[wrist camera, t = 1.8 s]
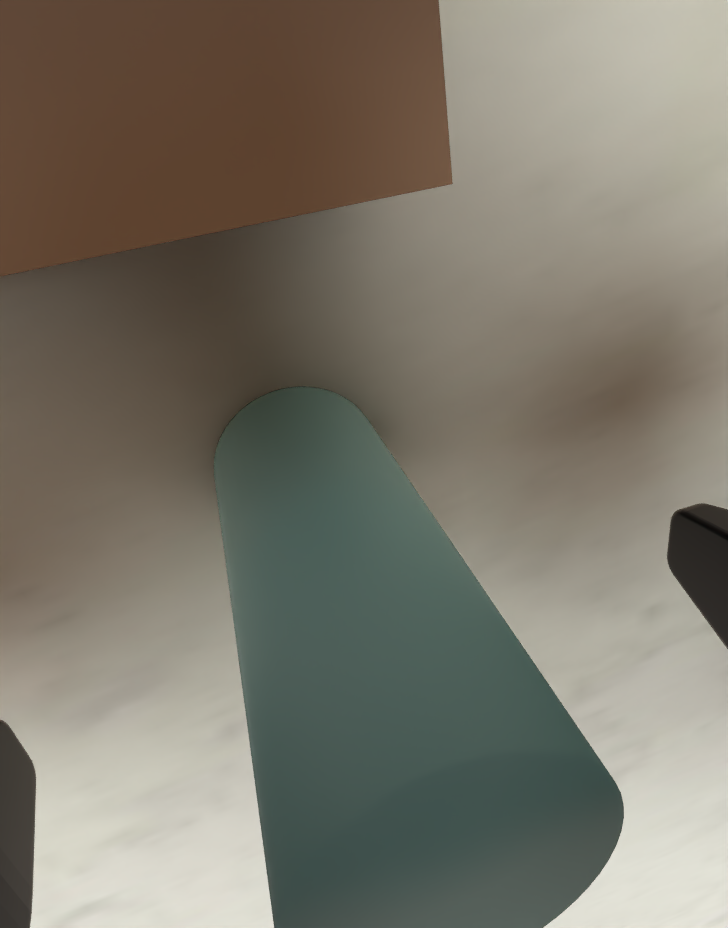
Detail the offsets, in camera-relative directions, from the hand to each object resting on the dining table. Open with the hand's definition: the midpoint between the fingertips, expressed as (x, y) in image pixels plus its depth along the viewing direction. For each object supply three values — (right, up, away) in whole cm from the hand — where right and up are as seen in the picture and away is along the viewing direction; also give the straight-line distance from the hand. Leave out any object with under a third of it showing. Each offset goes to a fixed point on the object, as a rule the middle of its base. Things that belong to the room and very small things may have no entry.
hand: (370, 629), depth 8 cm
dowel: (-1, +2, +4) cm, 5 cm away
